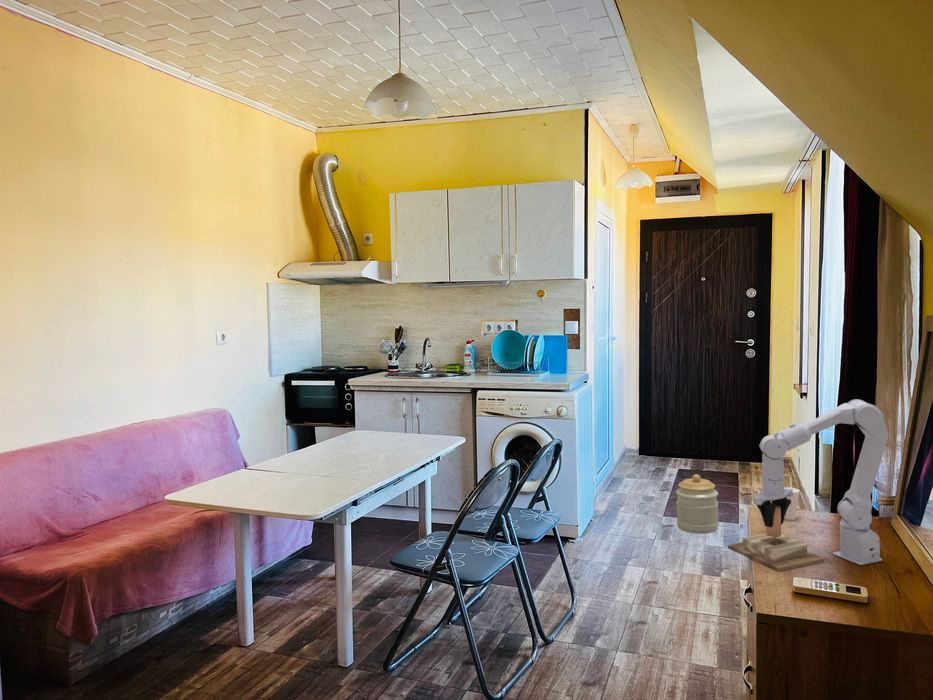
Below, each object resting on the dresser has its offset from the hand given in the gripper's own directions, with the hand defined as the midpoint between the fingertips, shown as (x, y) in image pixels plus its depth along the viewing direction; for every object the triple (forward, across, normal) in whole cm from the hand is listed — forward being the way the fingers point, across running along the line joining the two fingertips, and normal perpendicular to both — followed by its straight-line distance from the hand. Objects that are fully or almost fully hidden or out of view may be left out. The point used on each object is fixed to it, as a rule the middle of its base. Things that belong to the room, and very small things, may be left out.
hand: (773, 524), depth 200 cm
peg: (+3, 0, 0) cm, 3 cm away
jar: (+9, -1, -29) cm, 31 cm away
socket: (+9, 0, 0) cm, 9 cm away
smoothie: (+9, -32, -18) cm, 37 cm away
